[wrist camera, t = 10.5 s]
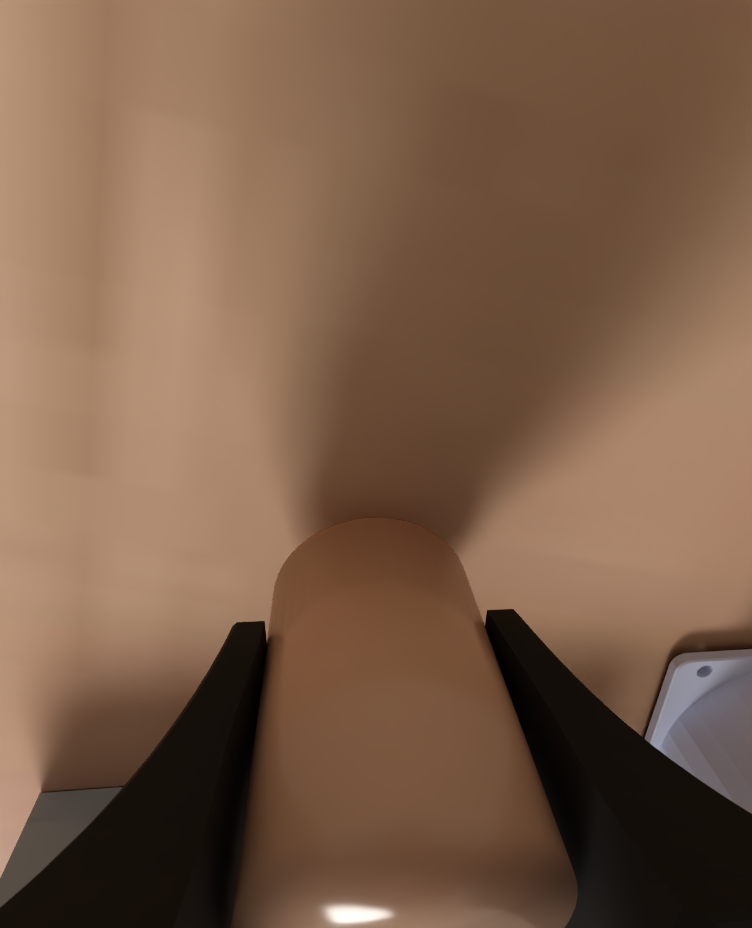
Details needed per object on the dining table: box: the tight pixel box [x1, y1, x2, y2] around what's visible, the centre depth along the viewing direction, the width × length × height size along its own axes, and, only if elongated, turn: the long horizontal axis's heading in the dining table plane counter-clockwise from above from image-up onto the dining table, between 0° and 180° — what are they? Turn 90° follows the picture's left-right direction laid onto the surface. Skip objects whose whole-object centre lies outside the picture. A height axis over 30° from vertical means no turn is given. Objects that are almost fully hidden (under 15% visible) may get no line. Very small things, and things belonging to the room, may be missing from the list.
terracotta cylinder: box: [231, 518, 578, 928], centre depth 11 cm, size 5×5×7 cm
